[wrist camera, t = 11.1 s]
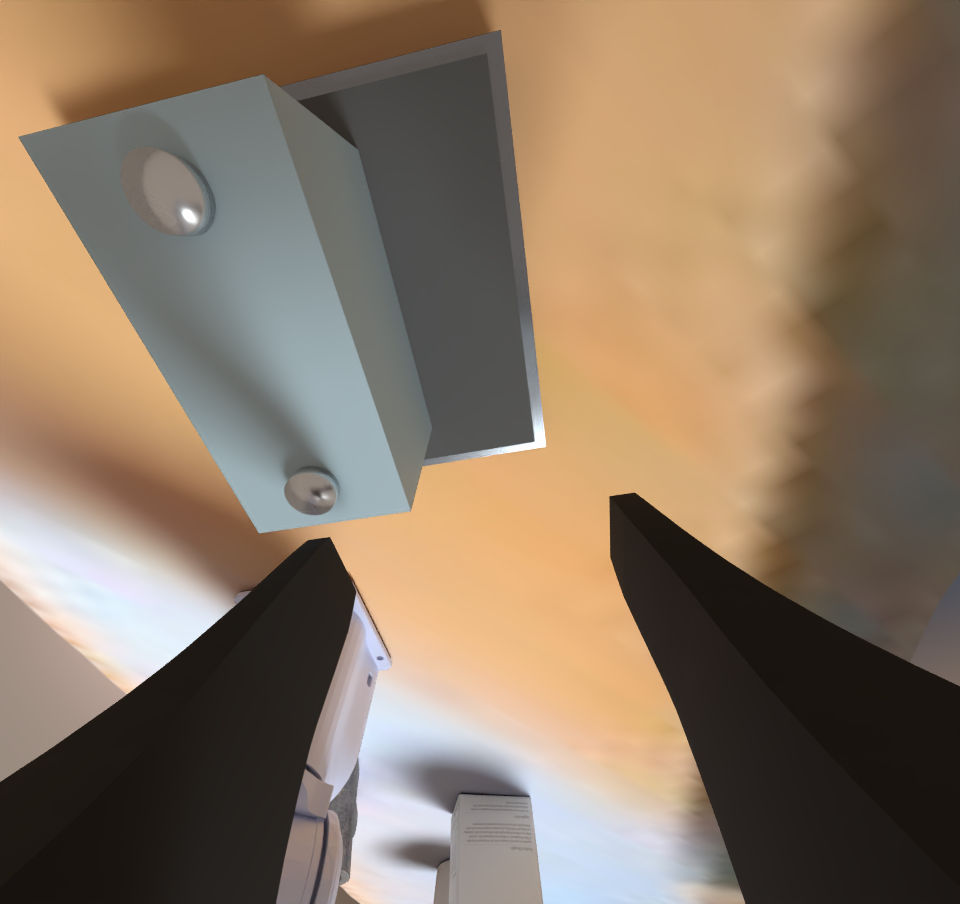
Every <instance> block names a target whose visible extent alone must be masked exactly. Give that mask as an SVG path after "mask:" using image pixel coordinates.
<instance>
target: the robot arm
mask: <svg viewBox="0 0 960 904" xmlns="http://www.w3.org/2000/svg"><path fill="white" fill-rule="evenodd" d="M610 557H611V560H612V564H613V567H614V570H615V573H616V576H617V579H618V582H619V584H620V587H621V590H622V593H623V596H624V598H625V600H626V602H627V605H628V607H629V609H630V611H631V613H632V615H633V618H634V620H635V622H636V624H637V626H638V628H639V630H640V632H641V635H642V637H643V639H644V641H645V643H646V645H647V647H648V649H649V651H650V654H651V656H652V658H653V660H654V662H655V664H656V666H657V668H658V670H659V673H660V675H661V677H662V679H663V681H664V683H665V685H666V687H667V690H668V692H669V694H670V697H671V699H672V701H673V704H674V706H675V708H676V711H677V713H678V716H679V718H680V721H681V724H682V726H683V729H684V732H685V734H686V737H687V740H688V742H689V745H690V748H691V750H692V753H693V756H694V758H695V761H696V764H697V767H698V769H699V772H700V775H701V778H702V780H703V783H704V786H705V789H706V792H707V794H708V797H709V800H710V803H711V805H712V808H713V811H714V814H715V817H716V819H717V822H718V825H719V828H720V831H721V834H722V836H723V839H724V842H725V845H726V848H727V851H728V854H729V857H730V860H731V863H732V866H733V868H734V871H735V874H736V877H737V880H738V883H739V886H740V889H741V892H742V895H743V897H744V900H745V903H746V904H960V686H958V685H956V684H954V683H952V682H949V681H947V680H945V679H943V678H941V677H939V676H937V675H935V674H932V673H930V672H928V671H926V670H924V669H922V668H920V667H917V666H915V665H913V664H911V663H909V662H907V661H905V660H903V659H901V658H899V657H897V656H895V655H893V654H891V653H889V652H887V651H885V650H883V649H881V648H879V647H877V646H875V645H873V644H871V643H869V642H867V641H865V640H863V639H861V638H859V637H857V636H855V635H853V634H852V633H850V632H848V631H846V630H844V629H842V628H840V627H838V626H836V625H835V624H833V623H831V622H829V621H827V620H825V619H823V618H822V617H820V616H818V615H816V614H815V613H813V612H811V611H809V610H807V609H806V608H804V607H802V606H800V605H799V604H797V603H795V602H793V601H792V600H790V599H788V598H786V597H785V596H783V595H781V594H779V593H778V592H776V591H774V590H773V589H771V588H769V587H768V586H766V585H764V584H763V583H761V582H760V581H758V580H756V579H755V578H753V577H752V576H750V575H749V574H747V573H746V572H744V571H742V570H741V569H739V568H738V567H736V566H735V565H733V564H732V563H730V562H728V561H727V560H725V559H724V558H723V557H721V556H720V555H718V554H717V553H715V552H714V551H712V550H711V549H710V548H708V547H707V546H705V545H704V544H703V543H701V542H700V541H698V540H697V539H696V538H694V537H693V536H691V535H690V534H689V533H687V532H686V531H685V530H683V529H682V528H681V527H679V526H678V525H677V524H675V523H674V522H673V521H671V520H670V519H669V518H667V517H666V516H665V515H663V514H662V513H661V512H660V511H658V510H657V509H656V508H654V507H653V506H652V505H651V504H649V503H648V502H647V501H645V500H644V499H643V498H641V497H640V496H639V495H637V494H636V493H629V494H622V495H616V496H610ZM234 601H235V603H236V604H237V605H235V606H234V607H233V608H232V609H231V610H230V611H229V612H227V613H226V614H225V615H224V616H223V617H222V618H221V619H219V620H218V621H217V622H216V623H215V624H214V625H212V626H211V627H210V628H209V629H208V630H207V631H206V632H204V633H203V634H202V635H201V636H200V637H199V638H197V639H196V640H195V641H194V642H193V643H192V644H190V645H189V646H188V647H187V648H186V649H185V650H183V651H182V652H181V653H180V654H178V655H177V656H176V657H175V658H174V659H172V660H171V661H170V662H169V663H167V664H166V665H165V666H164V667H162V668H161V669H160V670H158V671H157V672H156V673H155V674H153V675H152V676H151V677H149V678H148V679H147V680H145V681H144V682H143V683H142V684H140V685H139V686H138V687H136V688H135V689H134V690H132V691H131V692H130V693H128V694H127V695H126V696H124V697H123V698H122V699H120V700H119V701H118V702H116V703H115V704H114V705H112V706H111V707H110V708H108V709H107V710H105V711H104V712H102V713H101V714H99V715H98V716H96V717H95V718H94V719H92V720H91V721H89V722H88V723H87V724H85V725H84V726H82V727H81V728H79V729H78V730H77V731H75V732H74V733H72V734H71V735H70V736H68V737H67V738H65V739H64V740H63V741H61V742H60V743H58V744H57V745H55V746H54V747H53V748H51V749H49V750H48V751H47V752H45V753H44V754H42V755H41V756H39V757H38V758H36V759H35V760H33V761H31V762H30V763H28V764H27V765H26V766H24V767H22V768H21V769H19V770H18V771H16V772H15V773H13V774H12V775H10V776H9V777H7V778H6V779H4V780H3V781H1V782H0V904H334V903H335V899H336V894H337V889H338V885H339V879H340V873H341V866H342V856H343V841H342V834H341V831H340V824H339V819H338V816H337V814H336V813H335V812H334V811H333V810H328V808H329V804H330V802H331V801H332V800H333V799H334V798H335V797H336V796H337V794H338V793H339V792H340V791H341V789H342V788H343V786H344V785H345V784H346V782H347V781H348V779H349V777H350V775H351V773H352V771H353V769H354V767H355V765H356V762H357V759H358V755H359V752H360V747H361V743H362V739H363V735H364V730H365V726H366V722H367V718H368V713H369V709H370V705H371V701H372V697H373V692H374V688H375V684H376V680H377V675H378V671H381V670H388V669H390V668H391V665H392V661H391V659H390V657H389V655H388V653H387V651H386V648H385V646H384V644H383V642H382V640H381V638H380V636H379V634H378V632H377V630H376V628H375V626H374V624H373V622H372V620H371V618H370V616H369V614H368V612H367V610H366V608H365V606H364V604H363V602H362V600H361V598H360V596H359V594H358V592H357V590H356V588H355V586H354V583H353V582H352V581H351V579H350V577H349V575H348V573H347V571H346V569H345V567H344V564H343V562H342V560H341V558H340V556H339V554H338V552H337V550H336V548H335V546H334V544H333V542H332V540H331V538H330V537H327V538H321V539H314V540H308V541H307V542H305V543H304V544H303V545H302V546H300V547H299V548H298V549H297V550H296V551H295V552H293V553H292V554H291V555H290V556H289V557H288V558H287V559H286V560H284V561H283V562H282V563H281V564H280V565H279V566H278V567H277V568H276V569H275V570H274V571H272V572H271V573H270V574H269V575H268V576H267V577H266V578H265V579H264V580H263V581H262V582H261V583H259V584H258V585H257V586H256V587H255V588H254V589H253V590H252V591H245V592H240V593H238V594H237V595H236V597H235V598H234Z"/></svg>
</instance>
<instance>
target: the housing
mask: <svg viewBox="0 0 960 904" xmlns="http://www.w3.org/2000/svg"><path fill="white" fill-rule="evenodd" d="M19 139H20V141H21V142H22V144H23V146H24V147H25V149H26V151H27V152H28V154H29V156H30V157H31V159H32V161H33V162H34V164H35V165H36V167H37V169H38V170H39V172H40V174H41V175H42V177H43V179H44V180H45V182H46V184H47V185H48V187H49V189H50V190H51V192H52V193H53V195H54V197H55V198H56V200H57V202H58V203H59V205H60V207H61V208H62V210H63V212H64V213H65V215H66V217H67V218H68V220H69V221H70V223H71V225H72V226H73V228H74V230H75V231H76V233H77V235H78V236H79V238H80V240H81V241H82V243H83V245H84V246H85V248H86V249H87V251H88V253H89V254H90V256H91V258H92V259H93V261H94V263H95V264H96V266H97V268H98V269H99V271H100V273H101V274H102V276H103V277H104V279H105V281H106V282H107V284H108V286H109V287H110V289H111V291H112V292H113V294H114V296H115V297H116V299H117V301H118V302H119V304H120V305H121V307H122V309H123V310H124V312H125V314H126V315H127V317H128V319H129V320H130V322H131V324H132V325H133V327H134V329H135V330H136V332H137V333H138V335H139V337H140V338H141V340H142V342H143V343H144V345H145V347H146V348H147V350H148V352H149V353H150V355H151V357H152V358H153V360H154V361H155V363H156V365H157V366H158V368H159V370H160V371H161V373H162V375H163V376H164V378H165V380H166V381H167V383H168V385H169V386H170V388H171V389H172V391H173V393H174V394H175V396H176V398H177V399H178V401H179V403H180V404H181V406H182V408H183V409H184V411H185V413H186V414H187V416H188V417H189V419H190V421H191V422H192V424H193V426H194V427H195V429H196V431H197V432H198V434H199V436H200V437H201V439H202V441H203V442H204V444H205V445H206V447H207V449H208V450H209V452H210V454H211V455H212V457H213V459H214V460H215V462H216V464H217V465H218V467H219V469H220V470H221V472H222V473H223V475H224V477H225V478H226V480H227V482H228V483H229V485H230V487H231V488H232V490H233V492H234V493H235V495H236V497H237V498H238V500H239V501H240V503H241V505H242V506H243V508H244V510H245V511H246V513H247V515H248V516H249V518H250V520H251V521H252V523H253V525H254V526H255V528H256V529H257V531H258V533H266V532H273V531H279V530H286V529H293V528H300V527H307V526H313V525H320V524H327V523H334V522H341V521H347V520H354V519H361V518H368V517H375V516H381V515H388V514H395V513H402V512H409V511H411V508H412V505H413V501H414V497H415V493H416V489H417V485H418V481H419V477H420V473H421V470H422V466H423V462H424V458H425V454H426V450H427V446H428V442H429V439H430V435H431V431H432V425H431V422H430V418H429V414H428V410H427V407H426V403H425V399H424V395H423V391H422V388H421V384H420V380H419V376H418V373H417V369H416V365H415V361H414V358H413V354H412V350H411V346H410V343H409V339H408V335H407V331H406V328H405V324H404V320H403V316H402V313H401V309H400V305H399V301H398V298H397V294H396V290H395V286H394V283H393V279H392V275H391V271H390V268H389V264H388V260H387V256H386V252H385V249H384V245H383V241H382V237H381V234H380V230H379V226H378V222H377V219H376V215H375V211H374V207H373V204H372V200H371V196H370V192H369V189H368V185H367V181H366V177H365V174H364V170H363V166H362V162H361V159H360V155H359V151H358V149H356V148H355V147H354V146H353V145H351V144H350V143H349V142H348V141H346V140H345V139H344V138H343V137H341V136H340V135H339V134H338V133H336V132H335V131H334V130H333V129H331V128H330V127H329V126H328V125H326V124H325V123H324V122H323V121H321V120H320V119H319V118H318V117H316V116H315V115H314V114H313V113H311V112H310V111H309V110H308V109H306V108H305V107H304V106H303V105H301V104H300V103H299V102H298V101H296V100H295V99H294V98H293V97H291V96H290V95H289V94H288V93H286V92H285V91H284V90H283V89H281V88H280V87H279V86H278V85H276V84H275V83H274V82H273V81H271V80H270V79H269V78H268V77H266V76H265V75H264V74H262V75H258V76H254V77H250V78H246V79H242V80H238V81H234V82H231V83H227V84H223V85H219V86H215V87H211V88H207V89H203V90H199V91H195V92H192V93H188V94H184V95H180V96H176V97H172V98H168V99H164V100H160V101H156V102H153V103H149V104H145V105H141V106H137V107H133V108H129V109H125V110H121V111H117V112H113V113H110V114H106V115H102V116H98V117H94V118H90V119H86V120H82V121H78V122H74V123H71V124H67V125H63V126H59V127H55V128H51V129H47V130H43V131H39V132H35V133H32V134H28V135H24V136H20V137H19Z"/></svg>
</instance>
